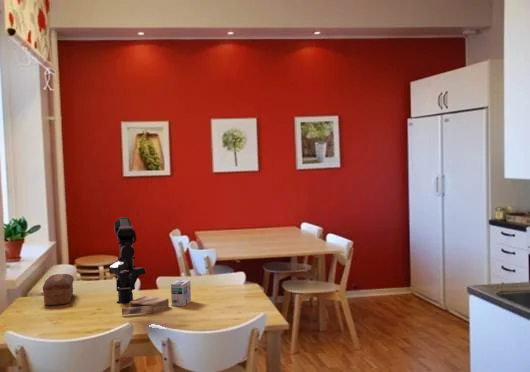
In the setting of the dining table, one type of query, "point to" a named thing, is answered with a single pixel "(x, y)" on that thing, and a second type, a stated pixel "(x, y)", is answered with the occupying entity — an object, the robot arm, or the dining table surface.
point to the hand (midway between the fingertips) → (127, 288)
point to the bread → (58, 289)
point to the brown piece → (150, 303)
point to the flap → (137, 310)
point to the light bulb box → (180, 293)
